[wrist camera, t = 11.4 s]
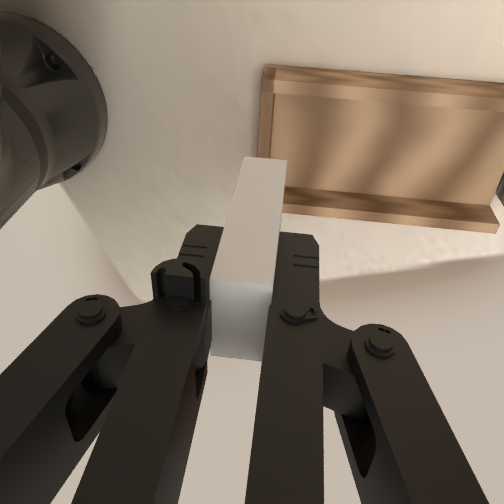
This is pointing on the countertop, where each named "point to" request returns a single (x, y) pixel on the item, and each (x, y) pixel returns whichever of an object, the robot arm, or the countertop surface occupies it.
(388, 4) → the countertop surface
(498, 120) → the box
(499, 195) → the grey square tile
